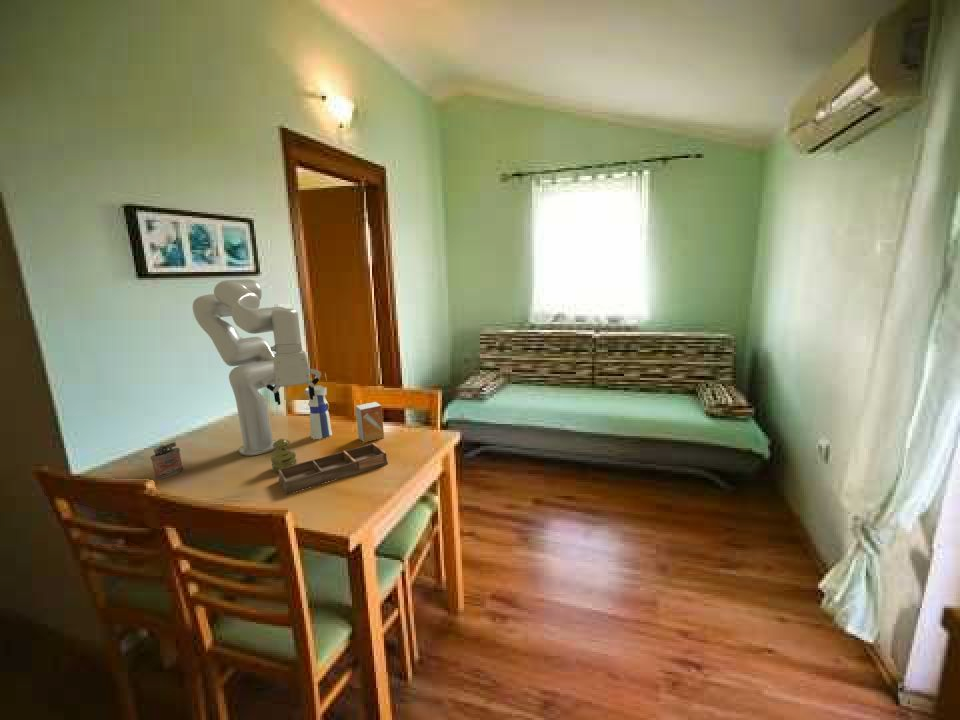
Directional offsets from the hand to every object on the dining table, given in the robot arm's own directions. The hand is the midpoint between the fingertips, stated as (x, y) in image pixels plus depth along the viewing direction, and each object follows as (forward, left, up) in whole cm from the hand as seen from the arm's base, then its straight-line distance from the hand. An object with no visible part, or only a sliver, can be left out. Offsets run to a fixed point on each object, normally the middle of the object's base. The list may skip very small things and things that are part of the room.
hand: (295, 401), depth 139 cm
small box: (-8, +27, -22) cm, 36 cm away
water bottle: (-24, +13, -22) cm, 35 cm away
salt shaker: (-2, -5, -22) cm, 23 cm away
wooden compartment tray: (+12, +7, -22) cm, 26 cm away
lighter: (-23, -36, -22) cm, 49 cm away
